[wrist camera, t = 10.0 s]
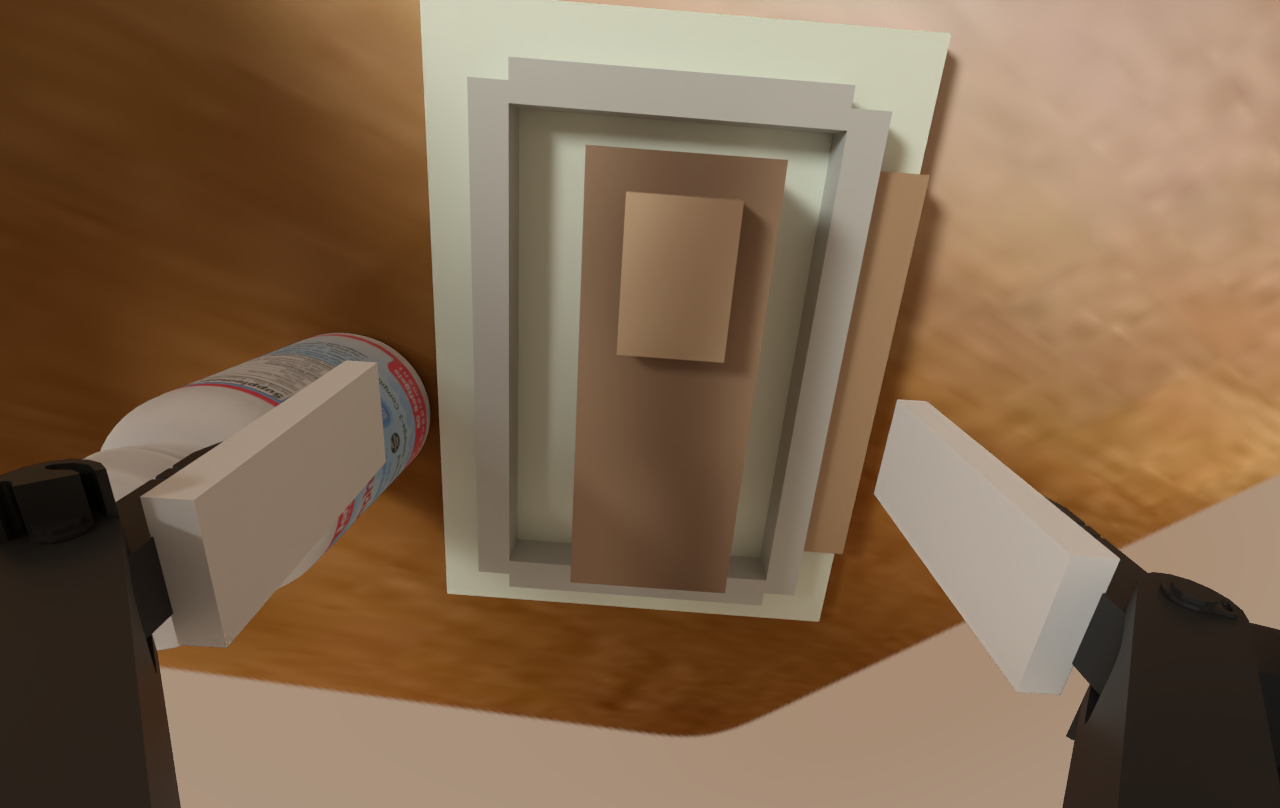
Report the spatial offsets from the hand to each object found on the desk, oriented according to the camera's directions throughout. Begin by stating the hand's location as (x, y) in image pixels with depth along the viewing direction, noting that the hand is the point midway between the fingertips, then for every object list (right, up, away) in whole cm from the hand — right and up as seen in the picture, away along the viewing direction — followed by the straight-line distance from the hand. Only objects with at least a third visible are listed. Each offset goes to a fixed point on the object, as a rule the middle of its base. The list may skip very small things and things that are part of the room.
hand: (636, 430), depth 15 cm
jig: (+1, +3, +8) cm, 8 cm away
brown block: (+1, +3, +6) cm, 7 cm away
